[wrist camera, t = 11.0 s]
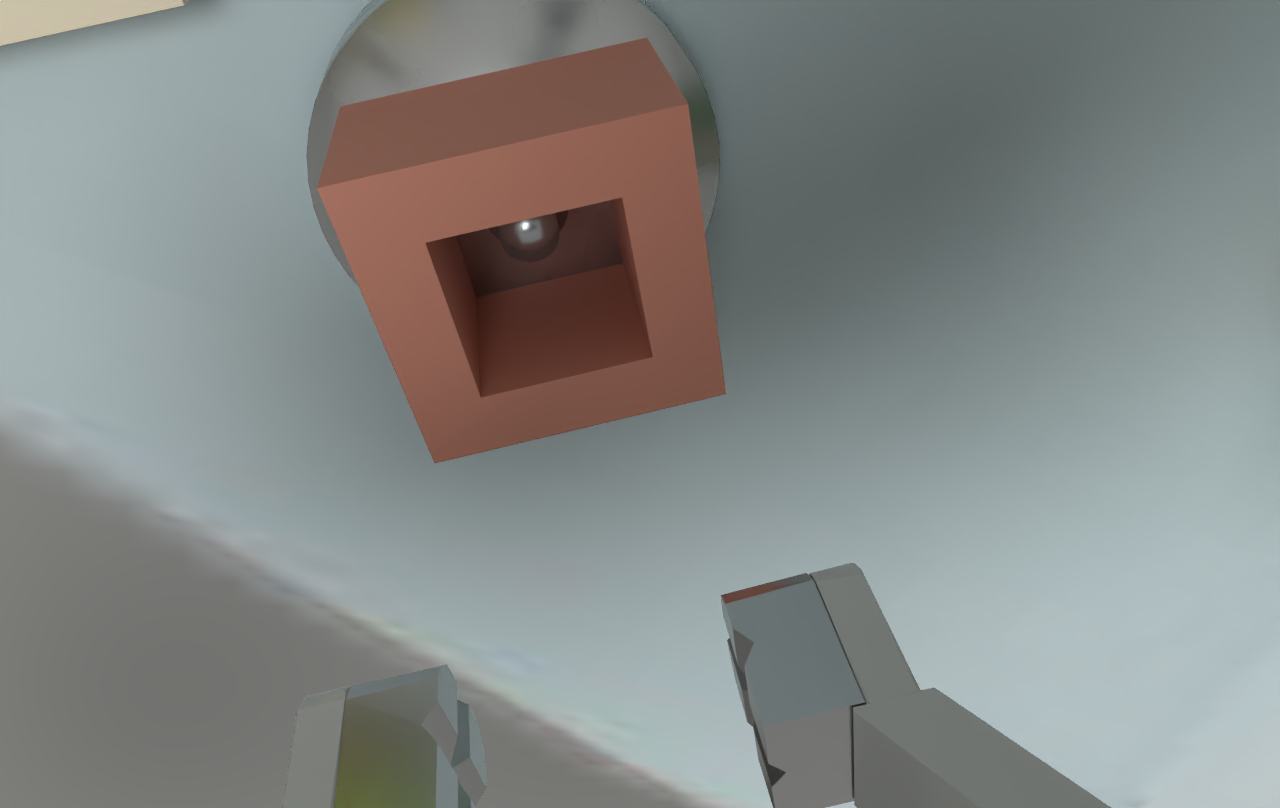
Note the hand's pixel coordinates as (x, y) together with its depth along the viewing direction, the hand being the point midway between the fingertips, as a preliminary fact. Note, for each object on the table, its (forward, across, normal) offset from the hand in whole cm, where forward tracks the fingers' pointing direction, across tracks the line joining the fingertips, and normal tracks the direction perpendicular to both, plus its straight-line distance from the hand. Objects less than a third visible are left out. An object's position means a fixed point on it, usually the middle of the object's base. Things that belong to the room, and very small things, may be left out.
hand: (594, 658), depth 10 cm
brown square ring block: (+13, 0, +1) cm, 13 cm away
